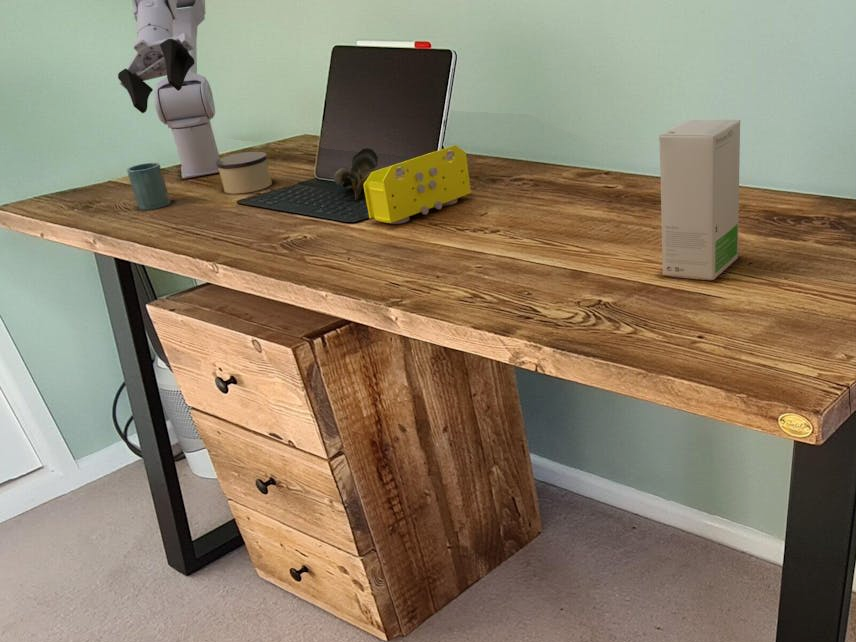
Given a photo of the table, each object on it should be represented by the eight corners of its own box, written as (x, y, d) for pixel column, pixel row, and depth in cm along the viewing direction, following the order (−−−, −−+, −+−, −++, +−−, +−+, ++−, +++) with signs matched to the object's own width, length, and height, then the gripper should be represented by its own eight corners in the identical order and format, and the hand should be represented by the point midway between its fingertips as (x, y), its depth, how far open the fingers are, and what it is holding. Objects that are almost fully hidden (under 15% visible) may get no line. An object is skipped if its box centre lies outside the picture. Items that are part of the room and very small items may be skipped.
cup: (139, 204, 156) (127, 166, 153) (170, 198, 157) (159, 160, 154) (138, 211, 152) (126, 172, 149) (171, 205, 153) (159, 167, 150)
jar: (221, 186, 162) (214, 157, 159) (270, 177, 164) (263, 148, 161) (224, 197, 155) (216, 167, 152) (275, 187, 157) (268, 158, 154)
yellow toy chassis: (394, 229, 128) (383, 169, 124) (369, 223, 132) (358, 165, 127) (473, 198, 138) (466, 142, 133) (448, 194, 141) (441, 139, 137)
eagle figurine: (390, 188, 143) (390, 164, 150) (358, 155, 139) (359, 132, 146) (355, 217, 146) (356, 193, 153) (323, 186, 142) (326, 162, 148)
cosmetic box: (713, 282, 99) (715, 136, 91) (657, 276, 102) (654, 134, 94) (740, 257, 105) (744, 117, 97) (686, 252, 108) (686, 116, 100)
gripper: (104, 45, 151) (104, 102, 145) (169, 0, 146) (172, 58, 140) (137, 73, 157) (138, 130, 151) (201, 31, 152) (204, 88, 146)
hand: (157, 97), depth 146 cm, fingers open, 7 cm apart
